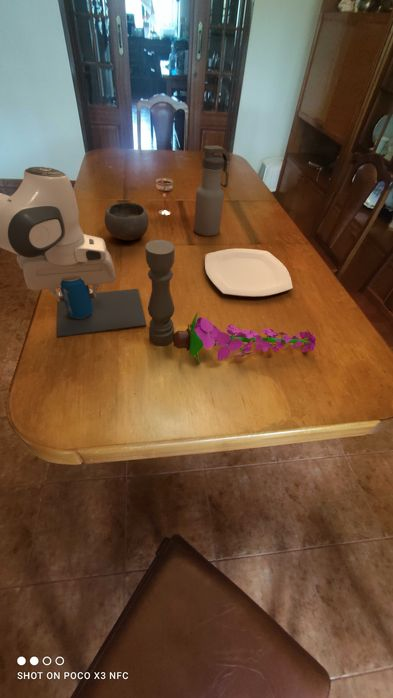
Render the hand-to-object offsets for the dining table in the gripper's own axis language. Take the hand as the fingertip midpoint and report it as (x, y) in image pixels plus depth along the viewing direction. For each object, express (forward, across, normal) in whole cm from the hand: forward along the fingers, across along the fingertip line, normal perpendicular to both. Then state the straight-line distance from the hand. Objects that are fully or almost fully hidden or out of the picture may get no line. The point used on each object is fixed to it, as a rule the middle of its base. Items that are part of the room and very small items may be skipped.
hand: (77, 298), depth 80 cm
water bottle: (+5, +47, +41) cm, 63 cm away
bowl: (+5, +17, +40) cm, 44 cm away
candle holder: (+5, +19, -13) cm, 24 cm away
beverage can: (+5, 0, 0) cm, 5 cm away
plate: (+5, +51, +10) cm, 52 cm away
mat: (+5, +5, 0) cm, 7 cm away
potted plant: (+5, +38, -21) cm, 44 cm away
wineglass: (+5, +34, +59) cm, 68 cm away
